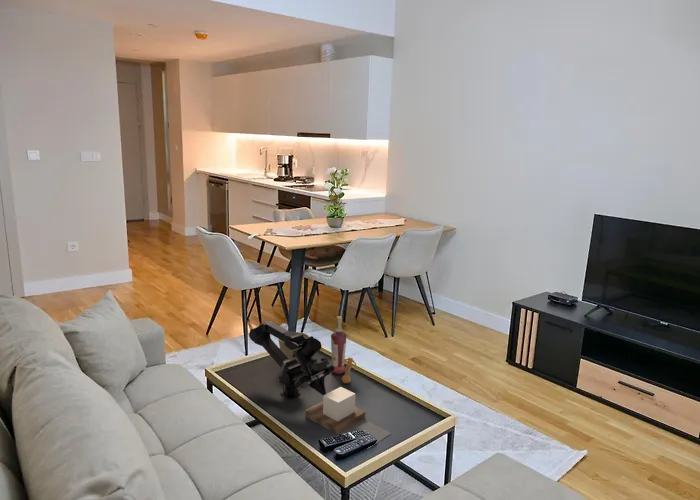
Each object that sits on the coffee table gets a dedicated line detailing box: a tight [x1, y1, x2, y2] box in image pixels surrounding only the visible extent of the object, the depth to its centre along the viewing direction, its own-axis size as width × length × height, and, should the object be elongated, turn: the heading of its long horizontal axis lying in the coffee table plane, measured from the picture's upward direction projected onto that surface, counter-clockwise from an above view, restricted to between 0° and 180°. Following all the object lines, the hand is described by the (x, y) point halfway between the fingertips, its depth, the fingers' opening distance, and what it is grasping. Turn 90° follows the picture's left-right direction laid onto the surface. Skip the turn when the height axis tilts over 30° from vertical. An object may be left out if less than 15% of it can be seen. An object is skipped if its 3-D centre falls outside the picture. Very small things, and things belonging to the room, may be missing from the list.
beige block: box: [322, 386, 356, 421], centre depth 202 cm, size 8×10×8 cm
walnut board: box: [304, 401, 366, 435], centre depth 205 cm, size 18×16×3 cm
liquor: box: [330, 315, 347, 375], centre depth 241 cm, size 7×7×28 cm
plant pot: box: [277, 331, 310, 364], centre depth 246 cm, size 15×15×16 cm
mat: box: [339, 419, 392, 450], centre depth 195 cm, size 14×14×1 cm
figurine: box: [341, 357, 357, 384], centre depth 234 cm, size 8×6×12 cm
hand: (324, 395), depth 207 cm, fingers closed
